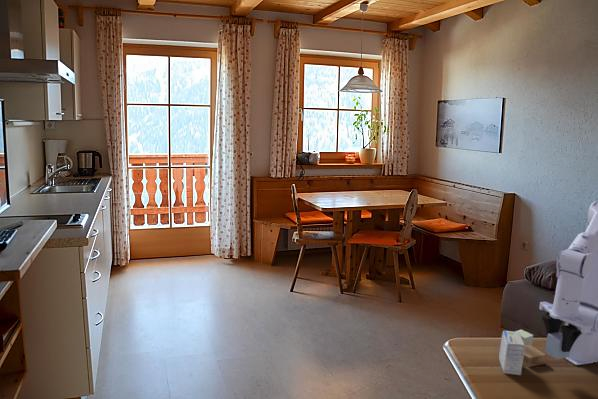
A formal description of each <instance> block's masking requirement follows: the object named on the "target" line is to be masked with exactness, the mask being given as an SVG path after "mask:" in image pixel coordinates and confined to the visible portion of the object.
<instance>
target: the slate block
mask: <svg viewBox="0 0 598 399" xmlns="http://www.w3.org/2000/svg"><path fill="white" fill-rule="evenodd" d="M562 340H563V335H562V331H561V332H560V331H559V332H557V333H550V334H548V335H547V334H546V342H545V346H544V347H545V349H544V353H545V354H548V355H549V356H551V357H553V358H554V359H555V360H560V359H565V358H568V357H569V355H570V351H569V352H563V351H562Z"/></svg>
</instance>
